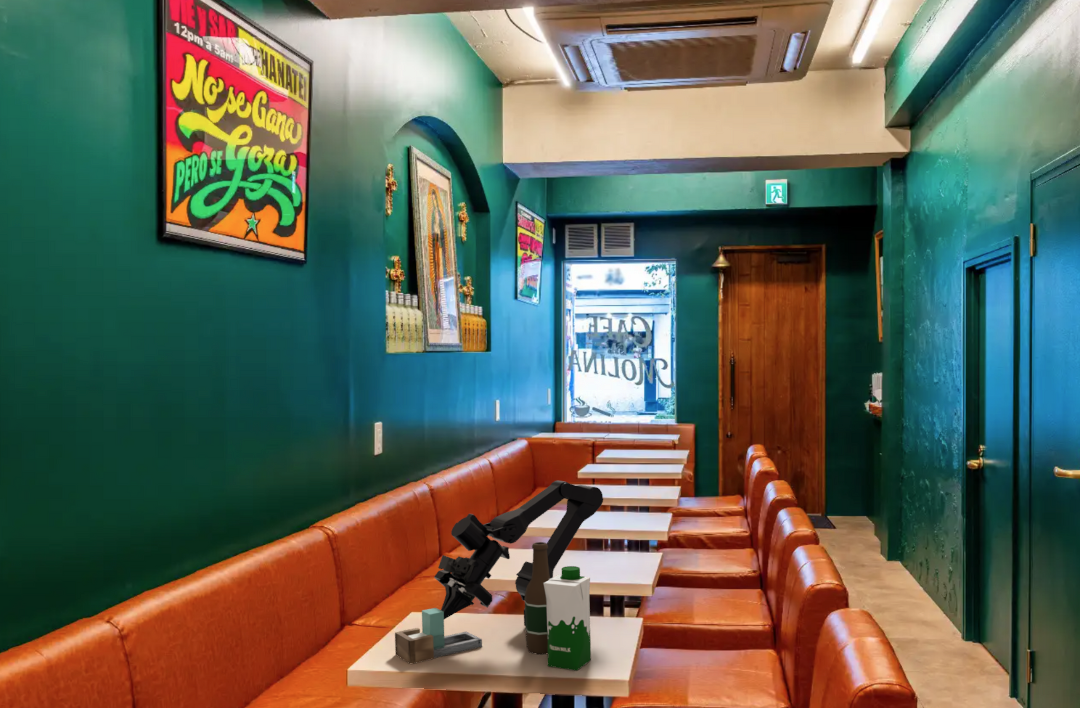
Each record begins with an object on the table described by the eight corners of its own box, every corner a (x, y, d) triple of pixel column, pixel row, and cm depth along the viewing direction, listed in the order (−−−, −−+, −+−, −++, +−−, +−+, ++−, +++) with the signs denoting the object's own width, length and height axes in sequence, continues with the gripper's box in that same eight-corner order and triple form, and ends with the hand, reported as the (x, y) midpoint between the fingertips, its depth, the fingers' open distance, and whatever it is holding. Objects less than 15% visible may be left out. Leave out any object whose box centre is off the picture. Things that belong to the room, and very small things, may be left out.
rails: (466, 639, 208) (466, 631, 208) (482, 646, 201) (481, 639, 201) (418, 649, 201) (418, 641, 201) (433, 658, 194) (433, 650, 194)
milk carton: (596, 659, 191) (593, 567, 191) (578, 673, 183) (575, 577, 183) (560, 654, 195) (557, 564, 195) (541, 667, 187) (538, 573, 187)
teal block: (436, 647, 201) (435, 607, 201) (444, 651, 198) (443, 611, 198) (404, 654, 197) (403, 614, 197) (412, 659, 194) (411, 618, 194)
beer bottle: (556, 655, 194) (553, 547, 194) (522, 654, 195) (519, 546, 196) (562, 644, 202) (559, 539, 202) (529, 643, 203) (526, 539, 203)
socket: (418, 649, 201) (417, 627, 201) (433, 658, 194) (433, 636, 194) (395, 654, 198) (394, 632, 198) (410, 664, 191) (410, 641, 191)
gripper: (440, 535, 211) (399, 589, 205) (478, 548, 195) (436, 606, 189) (470, 563, 215) (431, 617, 209) (510, 577, 200) (469, 636, 193)
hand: (440, 618), depth 200 cm, fingers closed, pressing on teal block
